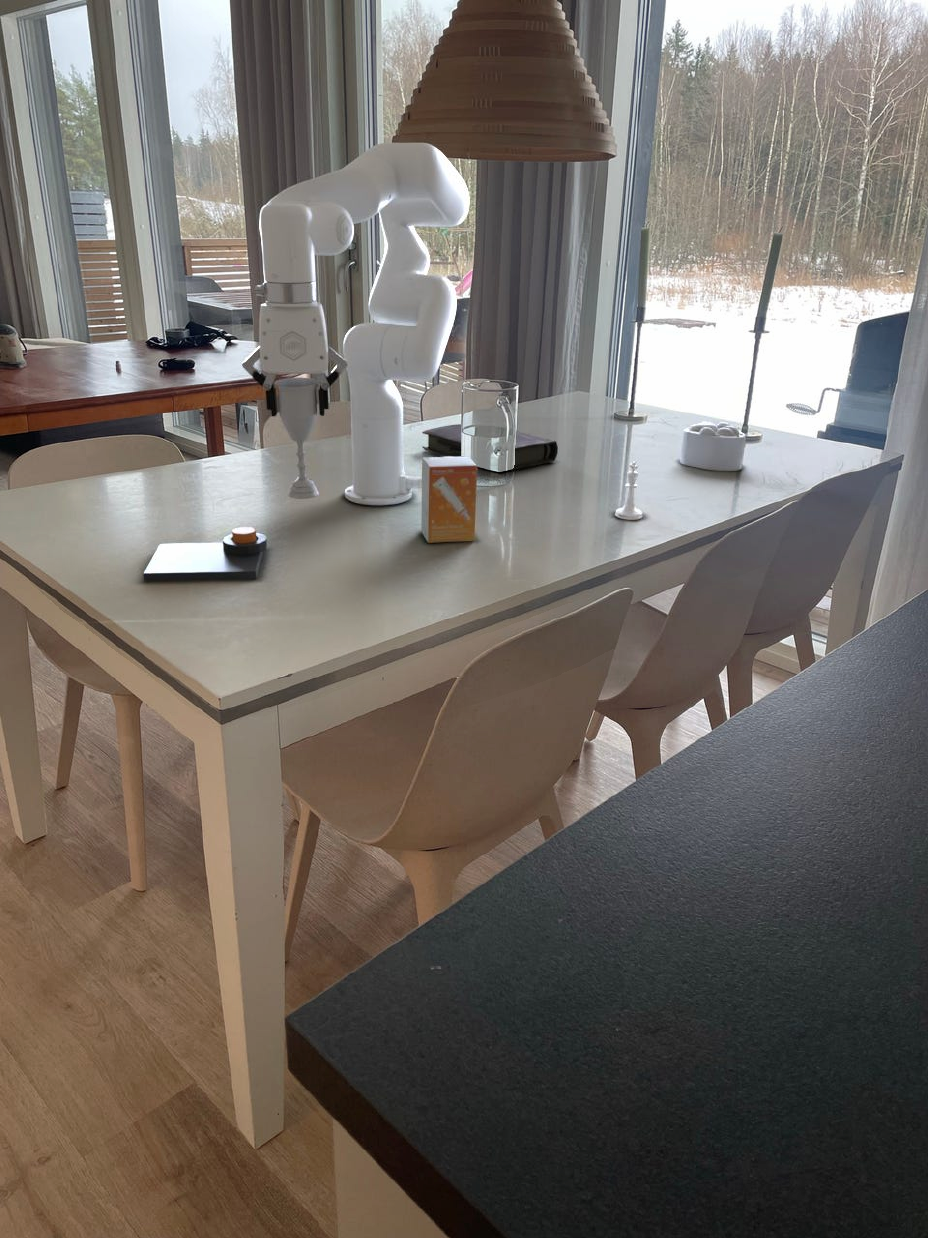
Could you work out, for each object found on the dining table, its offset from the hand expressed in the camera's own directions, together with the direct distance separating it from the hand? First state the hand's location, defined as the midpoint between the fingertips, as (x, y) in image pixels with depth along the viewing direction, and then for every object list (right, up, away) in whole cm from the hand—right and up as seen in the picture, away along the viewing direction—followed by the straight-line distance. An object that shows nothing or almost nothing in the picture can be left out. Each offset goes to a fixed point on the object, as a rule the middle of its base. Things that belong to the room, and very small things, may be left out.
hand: (298, 413), depth 146 cm
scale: (-13, -24, -4) cm, 28 cm away
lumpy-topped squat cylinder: (+81, +2, +59) cm, 100 cm away
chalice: (0, -12, +6) cm, 13 cm away
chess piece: (+56, -14, +24) cm, 62 cm away
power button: (-8, -20, -1) cm, 22 cm away
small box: (+23, -19, +11) cm, 32 cm away
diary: (+31, +4, +61) cm, 69 cm away
